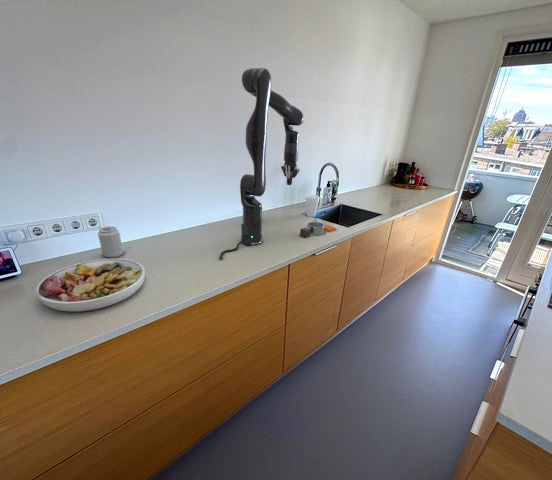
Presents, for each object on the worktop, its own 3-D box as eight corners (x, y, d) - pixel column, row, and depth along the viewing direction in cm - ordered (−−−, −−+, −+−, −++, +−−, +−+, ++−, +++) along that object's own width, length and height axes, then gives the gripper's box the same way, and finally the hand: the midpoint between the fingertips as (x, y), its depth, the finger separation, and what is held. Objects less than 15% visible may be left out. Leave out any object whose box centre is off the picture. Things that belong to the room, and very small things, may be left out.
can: (120, 249, 128) (115, 224, 123) (126, 255, 124) (120, 229, 118) (101, 254, 123) (94, 227, 118) (106, 260, 119) (99, 233, 113)
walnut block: (305, 237, 157) (305, 230, 155) (299, 235, 159) (300, 228, 158) (310, 236, 160) (310, 229, 158) (304, 234, 162) (305, 227, 160)
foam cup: (313, 218, 190) (315, 199, 184) (301, 215, 194) (303, 196, 188) (320, 215, 197) (322, 196, 192) (308, 212, 201) (309, 194, 196)
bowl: (125, 262, 118) (121, 245, 114) (162, 290, 101) (159, 270, 98) (30, 289, 96) (21, 269, 93) (57, 330, 80) (48, 307, 76)
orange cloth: (329, 231, 169) (329, 229, 168) (320, 228, 173) (320, 226, 172) (335, 229, 172) (336, 227, 172) (326, 226, 177) (327, 224, 176)
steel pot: (315, 236, 160) (316, 228, 158) (303, 231, 166) (303, 223, 164) (327, 232, 167) (328, 225, 165) (315, 227, 173) (315, 220, 171)
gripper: (277, 150, 155) (276, 183, 162) (294, 153, 147) (292, 187, 154) (288, 150, 160) (286, 182, 167) (304, 153, 152) (302, 186, 159)
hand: (289, 184), depth 161 cm, fingers closed
